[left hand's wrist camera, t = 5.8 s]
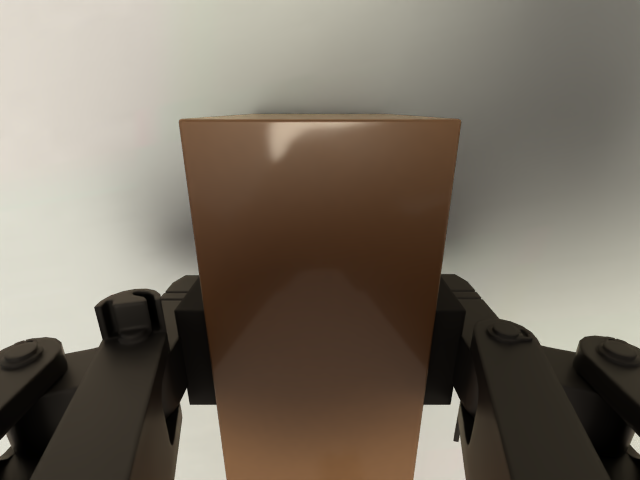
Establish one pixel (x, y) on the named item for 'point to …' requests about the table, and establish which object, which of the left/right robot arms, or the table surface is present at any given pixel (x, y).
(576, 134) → the table surface
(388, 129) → the bar
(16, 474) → the left robot arm
